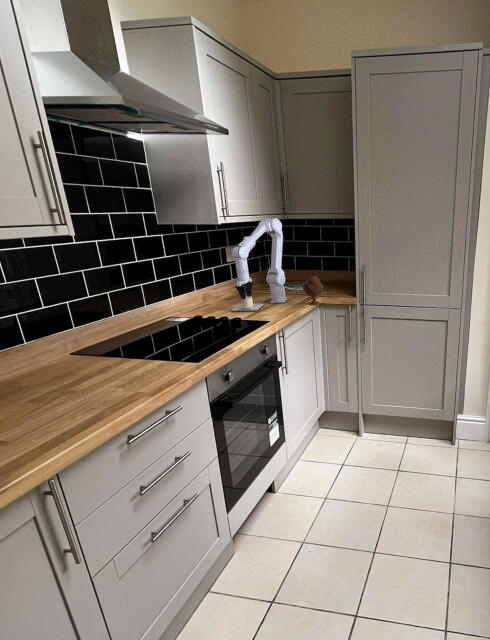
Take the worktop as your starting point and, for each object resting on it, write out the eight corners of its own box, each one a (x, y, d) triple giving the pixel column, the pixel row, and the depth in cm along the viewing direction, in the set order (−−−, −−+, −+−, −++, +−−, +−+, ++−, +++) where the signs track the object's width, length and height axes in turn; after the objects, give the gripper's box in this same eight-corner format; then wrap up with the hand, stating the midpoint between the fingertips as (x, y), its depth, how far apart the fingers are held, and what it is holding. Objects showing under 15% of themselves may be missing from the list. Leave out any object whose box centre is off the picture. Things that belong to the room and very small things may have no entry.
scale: (240, 306, 238) (240, 303, 237) (264, 305, 237) (263, 303, 237) (231, 312, 225) (231, 309, 224) (256, 311, 225) (256, 309, 224)
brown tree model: (326, 301, 243) (324, 274, 237) (321, 305, 233) (319, 277, 227) (307, 301, 244) (305, 274, 238) (302, 306, 234) (299, 277, 228)
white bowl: (245, 305, 234) (243, 296, 232) (255, 305, 233) (253, 296, 231) (240, 307, 229) (239, 298, 227) (250, 307, 228) (249, 298, 226)
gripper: (244, 273, 217) (248, 300, 222) (255, 269, 230) (259, 294, 235) (230, 273, 217) (235, 300, 223) (242, 269, 231) (246, 295, 236)
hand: (246, 297), depth 229 cm, fingers open, 7 cm apart
